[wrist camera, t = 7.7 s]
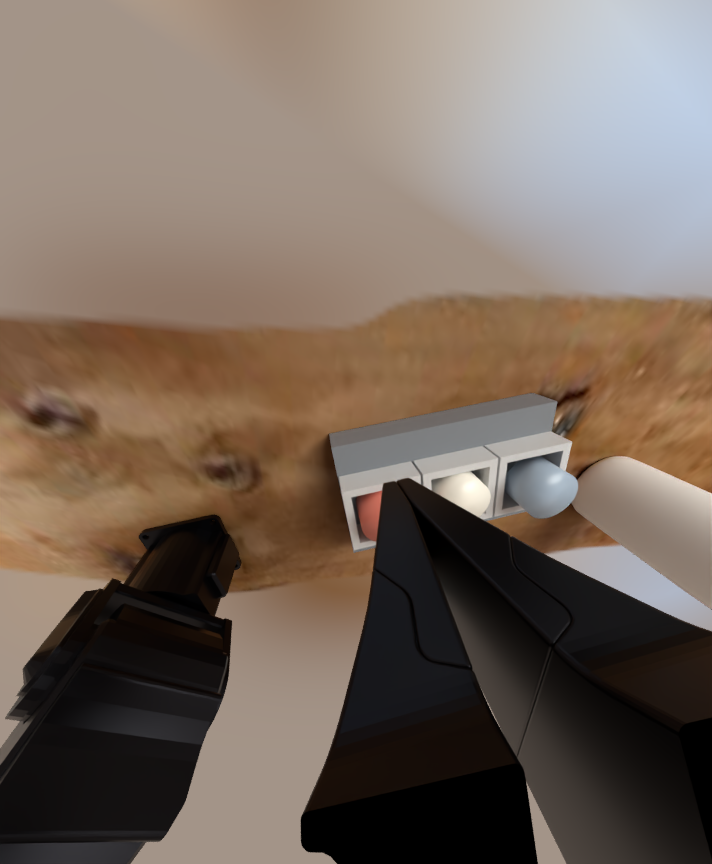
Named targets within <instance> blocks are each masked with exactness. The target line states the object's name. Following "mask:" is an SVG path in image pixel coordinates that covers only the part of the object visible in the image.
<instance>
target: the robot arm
mask: <svg viewBox="0 0 712 864" xmlns="http://www.w3.org/2000/svg"><path fill="white" fill-rule="evenodd" d="M212 520H214V521H215V522H214V521H212ZM147 535H148V536H147ZM139 539H140V540H141V541H142V543H143V544H144V546H145V547H146V549H147V551H146V553H145V554H144V555H143V557H142V558H141V560H140V561H139V563H138V564H137V565H136V567H135V568H134V570H133V571H132V573H131V574H130V575H129V577H128V578H127V580H126V581H125V583H124V584H122V583H120V582H121V581H119V580H116V579H113V578H112V579H111V581H110V582H109V583H108V584H107V585H106V586H105V587H104V589H98V590H93V591H86V592H84V594H83V595H82V596H81V597H80V598H79V599H78V601H77V602H76V603H75V604H74V606H73V607H72V608H71V609H70V610H69V612H68V613H67V614H66V615H65V617H64V618H63V619H62V620H61V621H60V623H59V624H58V625H57V627H56V628H55V629H54V630H53V631H52V632H51V634H50V635H49V636H48V638H47V639H46V640H45V641H44V643H43V644H42V645H41V646H40V648H39V649H38V650H37V651H36V653H35V654H34V655H33V657H32V658H31V659H30V660H29V661H28V663H27V664H26V665H25V667H24V668H23V679H24V685H23V687H22V688H21V690H20V691H19V693H18V694H17V696H20V697H19V698H18V700H17V701H16V703H15V704H14V706H13V707H12V708H11V710H10V711H9V713H8V714H7V716H6V718H5V719H10V720H17V721H20V722H19V723H18V725H17V726H16V728H15V729H14V730H13V732H12V733H11V734H10V736H9V737H8V739H7V740H6V742H5V743H4V744H3V745H2V747H1V748H0V864H130V863H131V862H132V861H133V859H134V858H135V857H136V855H137V854H138V852H139V851H140V850H141V848H142V847H143V846H144V844H145V843H146V842H158V841H161V840H162V839H163V838H164V836H165V835H166V834H167V832H168V831H169V829H170V827H171V826H172V824H173V822H174V820H175V819H176V817H177V815H178V814H179V812H180V810H181V809H182V807H183V805H184V803H185V801H186V798H187V794H188V791H189V787H190V784H191V780H192V777H193V773H194V770H195V766H196V763H197V760H198V756H199V753H200V750H201V747H202V744H203V741H204V738H205V736H206V733H207V731H208V729H209V727H210V725H211V724H212V722H213V720H214V718H215V716H216V713H217V712H218V709H219V707H220V704H221V702H222V699H223V696H224V693H225V689H226V686H227V681H228V675H229V662H230V645H231V630H232V621H231V620H229V619H221V618H218V617H215V614H216V611H217V608H218V604H219V602H220V599H221V598H222V597H225V596H226V594H227V593H228V589H229V586H230V583H231V579H232V576H233V573H234V570H237V569H239V568H240V566H241V563H242V562H241V560H240V557H239V552H238V550H237V548H236V546H235V544H234V542H233V540H232V538H231V536H230V535H229V534H228V533H227V531H226V529H225V527H224V525H223V523H222V521H221V519H220V517H219V516H217V515H209V516H205V517H200V518H196V519H191V520H186V521H182V522H177V523H173V524H168V525H164V526H159V527H154V528H150V529H145V530H143V531H142V532H141V534H140V535H139ZM480 687H481V688H480ZM481 689H482V690H481ZM482 691H483V693H484V695H485V697H486V699H487V701H488V703H489V705H490V707H491V709H492V711H493V713H494V716H495V718H496V719H497V722H498V724H499V726H500V727H499V726H498V724H497V722H496V720H495V719H494V716H493V715H492V712H491V710H490V708H489V706H488V704H487V702H486V699H485V697H484V695H483V693H482ZM500 728H501V729H500ZM501 730H502V731H501ZM502 732H503V733H502ZM526 782H527V784H528V786H529V788H530V790H531V792H532V794H533V796H534V798H535V800H536V802H537V804H538V806H539V808H540V810H541V812H542V814H543V816H544V818H545V820H546V823H547V825H548V827H549V829H550V831H551V833H552V835H553V837H554V839H555V841H556V843H557V845H558V847H559V849H560V851H561V853H562V855H563V857H564V859H565V861H566V864H712V631H709V630H706V629H703V628H700V627H697V626H695V625H692V624H690V623H687V622H685V621H682V620H680V619H678V618H675V617H673V616H671V615H669V614H666V613H664V612H662V611H660V610H658V609H656V608H654V607H652V606H650V605H648V604H645V603H643V602H641V601H639V600H637V599H635V598H633V597H631V596H629V595H627V594H625V593H623V592H620V591H618V590H616V589H614V588H612V587H610V586H608V585H606V584H604V583H602V582H600V581H598V580H595V579H593V578H591V577H589V576H587V575H585V574H583V573H581V572H579V571H577V570H575V569H573V568H571V567H569V566H567V565H565V564H563V563H561V562H559V561H557V560H555V559H553V558H551V557H549V556H547V555H545V554H544V553H542V552H540V551H538V550H536V549H534V548H533V547H531V546H529V545H527V544H525V543H523V542H522V541H520V540H518V539H516V538H515V537H513V536H512V537H510V535H509V534H507V533H506V532H504V531H502V530H500V529H499V528H497V527H495V526H493V525H492V524H490V523H488V522H486V521H485V520H483V519H481V518H479V517H477V516H476V515H474V514H472V513H470V512H469V511H467V510H465V509H463V508H462V507H460V506H458V505H456V504H455V503H453V502H451V501H449V500H448V499H446V498H444V497H442V496H441V495H439V494H437V493H435V492H433V491H432V490H430V489H428V488H426V487H425V486H423V485H421V484H419V483H418V482H416V481H414V480H412V479H411V478H404V479H400V480H397V481H391V482H386V483H384V484H383V487H382V496H381V504H380V513H379V522H378V530H377V539H376V547H375V556H374V564H373V572H372V580H371V588H370V594H369V601H368V607H367V612H366V616H365V621H364V625H363V630H362V634H361V638H360V642H359V646H358V650H357V654H356V658H355V661H354V666H353V669H352V673H351V677H350V681H349V685H348V689H347V693H346V696H345V700H344V705H343V708H342V712H341V715H340V719H339V722H338V725H337V729H336V732H335V735H334V738H333V742H332V744H331V748H330V751H329V753H328V756H327V759H326V762H325V764H324V767H323V769H322V771H321V774H320V776H319V778H318V780H317V783H316V785H315V787H314V789H313V792H312V794H311V796H310V799H309V801H308V803H307V805H306V808H305V810H304V812H303V814H302V817H301V843H302V846H303V848H304V849H305V850H306V851H308V852H323V853H325V854H327V855H329V856H331V857H332V858H333V860H334V861H335V862H336V863H337V864H538V862H537V855H536V848H535V841H534V834H533V827H532V820H531V813H530V806H529V799H528V792H527V785H526Z"/></svg>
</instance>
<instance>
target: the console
mask: <svg viewBox="0 0 712 864" xmlns="http://www.w3.org/2000/svg"><path fill="white" fill-rule="evenodd" d="M556 405H557V401H555V400H552V399H549V398H546V397H543V396H540V395H537V394H535V393H530V394H525V395H520V396H515V397H510V398H505V399H500V400H495V401H490V402H485V403H480V404H475V405H470V406H465V407H460V408H455V409H450V410H445V411H440V412H435V413H430V414H425V415H420V416H415V417H410V418H405V419H400V420H395V421H390V422H385V423H380V424H375V425H370V426H365V427H360V428H355V429H350V430H345V431H340V432H335V433H331V434H329V436H330V443H331V449H332V453H333V458H334V463H335V467H336V472H337V477H338V481H339V486H340V491H341V495H342V500H343V505H344V509H345V514H346V519H347V523H348V528H349V533H350V537H351V542H352V547H353V551H354V553H355V552H359V551H363V550H367V549H371V548H375V547H376V542H375V541H372V540H370V539H369V538H367V537H366V536H365V535H364V533H363V531H362V528H361V524H360V519H359V515H358V511H357V507H356V499H357V496H360V495H365V494H369V493H374V492H378V491H382V487H383V484H384V483H386V482H391V481H397V480H400V479H404V478H411V479H412V480H414V481H416V482H418V483H419V484H421V485H423V486H425V487H426V488H428V489H430V490H432V487H431V480H432V479H437V478H441V477H446V476H450V475H455V474H459V473H464V472H468V471H471V472H472V473H473V474H474V475H475V476H476V477H477V478H478V479H479V480H480V481H481V482H482V483H483V484H484V485H485V486H486V487H487V488H488V489H489V491H490V495H491V499H490V503H489V505H488V507H487V509H486V510H485V512H484V513H483V514H482V515H481V516H480V517H479V518H481V519H483V520H485V521H488V520H493V519H497V518H501V517H505V516H509V515H513V514H518V513H522V512H526V510H524V509H523V508H522V507H521V506H520V505H519V504H518V503H517V502H516V501H515V500H513V499H512V498H511V497H510V496H509V495H508V494H507V493H506V492H505V489H504V488H505V479H506V475H507V473H508V472H509V470H510V469H511V468H512V467H513V466H514V465H515V464H516V463H518V462H519V461H521V460H522V459H527V458H531V457H536V456H540V457H543V458H545V459H546V460H548V461H549V462H551V463H553V464H554V465H556V466H558V467H559V468H561V469H563V470H564V471H565V470H566V466H567V462H568V458H569V453H570V449H571V445H572V442H571V441H569V440H567V439H565V438H563V437H561V436H559V435H557V434H555V433H553V432H551V431H552V426H553V421H554V415H555V410H556Z"/></svg>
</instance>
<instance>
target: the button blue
mask: <svg viewBox="0 0 712 864" xmlns="http://www.w3.org/2000/svg"><path fill="white" fill-rule="evenodd" d="M504 489H505V492H506V493H507V494H508V495H509V496H510V497H511V498H512V499H513V500H515V501H516V502H517V503H518V504H519V505H520V506H521V507H522V508H523V509H524V510H526V511H527V512H528V513H529V514H530V515H531V516H533V517H535V518H540V519H542V518H549V517H552V516H554V515H556V514H558V513H560V512H561V511H563V510H564V509H565V508H567V507H568V506H569V505H570V503H571V502H572V501H573V500H574V498H575V496H576V494H577V491H578V482H577V480H576V478H575V477H574V476H572V475H571V474H569V473H567V472H566V471H564V470H563V469H561V468H559V467H558V466H556V465H554V464H553V463H551V462H549V461H548V460H546V459H545V458H543V457H540V456H536V457H531V458H527V459H522V460H521V461H519V462H518V463H516V464H515V465H514V466H513V467H512V468H511V469H510V470H509V472H508V473H507V475H506V479H505V488H504Z"/></svg>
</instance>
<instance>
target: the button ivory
mask: <svg viewBox="0 0 712 864" xmlns="http://www.w3.org/2000/svg"><path fill="white" fill-rule="evenodd" d="M431 487H432V491H433V492H435V493H437V494H439V495H441V496H442V497H444V498H446V499H448V500H449V501H451V502H453V503H455V504H456V505H458V506H460V507H462V508H463V509H465V510H467V511H469V512H470V513H472V514H474V515H476V516H477V517H480V516H481V515H482V514H483V513H484V512H485V510H486V509H487V507H488V505H489V503H490V499H491V495H490V491H489V489H488V488H487V487H486V486H485V485H484V484H483V483H482V482H481V481H480V480H479V479H478V478H477V477H476V476H475V475H474V474H473V473H472V472H471V471H468V472H464V473H459V474H455V475H450V476H446V477H441V478H437V479H432V480H431Z"/></svg>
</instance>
